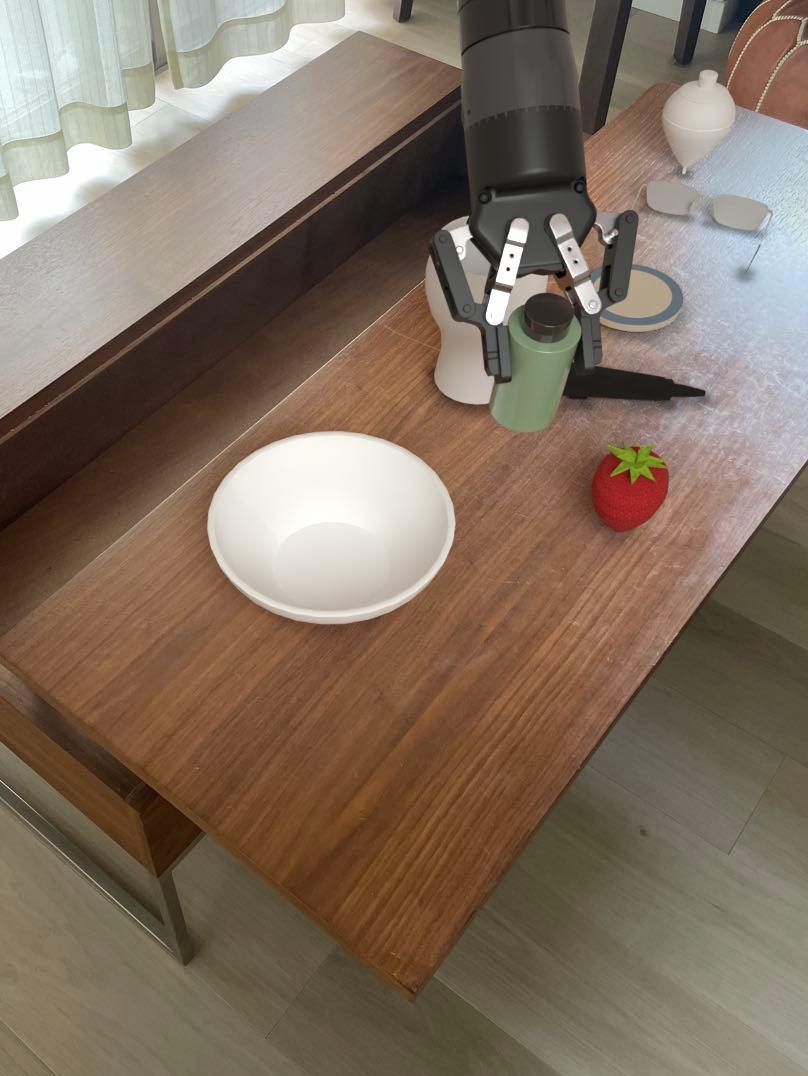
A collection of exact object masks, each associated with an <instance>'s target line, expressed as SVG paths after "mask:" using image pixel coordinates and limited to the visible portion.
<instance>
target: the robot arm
mask: <svg viewBox="0 0 808 1076" xmlns="http://www.w3.org/2000/svg"><path fill="white" fill-rule="evenodd" d="M568 4H569V3H568V0H456V17H457V27H458V37H459V47H460V56H461V57H460V58H461V61H460V62H461V75H460V76H461V77H460V100H461V112H460V120H461V126H462V128H463V134H464V135H463V136H464V146H465V157H466V163H467V164H466V167H467V177H468V188H469V189H468V190H469V197H470V198H469V200H470V212H469V215H468V216H469V218H468V220H467V222H466V225H464V226H461V227H458V228H456V229H453V230H450V231H447V230H441V229H440V230H438V231H436V232H435V234H434V235H433V236H431V238H430V239H429V240H428V243H427V250H428V252H429V256H431V259H432V262H433V264H434V267H435V270H436V273H437V276H438V279H439V282H440V285H441V288H442V291H443V293H444V296H445V299H446V302H447V305H448V308H449V311H450V314H451V317H452V318H453V320H454V321H456V322H465V323H469V324H472V325H475V326H476V327H478V329H479V330H480V332H481V340H482V351H483V360H484V361H483V362H484V370H485V372H486V374H487V376H494V381H495V384H505V383H510V382H511V381H512V371H511V360H510V349H509V338H508V327H507V325H505V326H503V319H504V315H505V311H506V307H507V303H508V299H509V296H510V293H511V291H512V289H513V286H514V282H515V279H518V278H522V277H525V276H527V275H530V274H535V275H541V276H546V275H548V276H552V277H553V279H554V281H555V283H556V286H557V287H558V288H559V290H560V291H561V292H563V294H564V296H565V297H564V298H566V299H567V300H568V301H569V302H570V303H571V304H572V306H573V308H574V315H575V317H576V318H577V319H578V321H579V323H580V326H581V337H580V340H579V343H578V346H577V350H576V353H575V356H574V359H573V362H574V367H575V373H576V375H577V376H580V375H588V374H593V373H594V372H595V366H597V365H599V364H601V362H602V359H603V356H604V354H603V353H604V352H603V342H602V331H601V330H602V329H601V323H600V315H601V313H602V311H603V310H604V309H606V308H607V307H609V306H611V305H613V304H616V303H618V302H621V301H623V300H624V299H625V298H626V297H627V294H628V288H629V281H630V275H631V268H632V264H633V262H634V261H633V260H634V255H635V248H636V247H635V246H636V240H637V234H638V227H639V221H640V217H639V214H638V212H636V211H635V210H633V209H632V210H631V209H627V210H625V211H623V212H614V211H606V210H600V209H599V210H598V209H597V206H596V205H595V203H594V202H593V200H592V199H591V197H590V195H589V191H588V182H587V181H588V180H587V179H588V178H587V167H586V154H585V142H584V133H583V120H582V108H581V107H582V106H581V95H580V83H579V76H578V75H579V74H578V69H577V63H576V59H575V56H574V50H573V46H572V38H571V29H570V16H569V5H568ZM592 228H593V229H594V230H595V231H596V232H597V240H598V243H600V245H601V246H603V247H604V253H603V258H602V259H603V260H602V267H601V268H602V272H601V279H600V285H599V291H598V292H597V291H596V289H595V287H594V285H593V283H592V281H591V278H590V275H591V271H590V268H589V265H588V263H587V261H586V259H585V256H584V254H583V253H582V249H581V247H582V246H583V244H584V242H585V240H586V239H587V237H588V235H589V234H590V232H591V230H592ZM468 240H470V241H471V242H472V243H473V244H474V246H475V247H476V248H477V249H478V250H479V251H480V252H481V254H482V255H483V256H484V257H485V258H486V259H487V261H488V262H489V263H490V264H491V265H490V269H489V273H488V277H487V280H486V284H485V289H484V297H483V301H482V304H479V303H475V302H474V299H473V296H472V293H471V291H470V288H469V285H468V282H467V279H466V276H465V273H464V270H463V267H462V264H461V260H462V259H463V258H464V257H465V256H466V243H467V241H468Z"/></svg>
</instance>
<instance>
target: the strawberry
mask: <svg viewBox="0 0 808 1076" xmlns="http://www.w3.org/2000/svg"><path fill="white" fill-rule="evenodd" d="M631 440H632V441H633V442H634V443H635V444H636V445H637V446H635V445H632V446H629V445H628V444H627V443H626V442H624V441H621V445H622V447H621V448H619V447H616V446H613V445H609V444H607V443H604V447H605V448H606V449H607V450H608V451H610V453H608V454H607V455H606V456H604V457H603V459H601V461H600V462H599V463H598V465H597V467H596V469H595V471H594V473H593V475H592V479H591V482H590V492H591V499H592V506H593V509H594V511H595V513H596V514H597V516H598V517H599V518H600V519H601V520H602V522H603V523H605V525H606V526H607V527H609V528H610V529H612V530H613V531H615V532H616V533H624V532H628V531H632V530H634V529H636V528H638V527H640V526H642V525H644V524H645V523H647V522H648V521H650V520H651V519H652V518H653V516H655V514H656V513H657V512H658V511H659V510H660V508H661V507H662V505H663V504H664V503H665V500H666V498H667V496H668V494H669V484H670V474H669V473H670V472H669V468H670V467H668V466H667V464H666V462H667V461H668V460H667V459H663V458H662V457H661V456H659V454H657V453H656V452H654V451H653V450H652V449H653V448H654V445H655V444H656V443H655V442H653V443H650V444H648V445H645V446H644V447H642V446H641V445H640V443H638V442H637V441H636V440H635V439H634V438H631Z"/></svg>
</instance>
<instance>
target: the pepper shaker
mask: <svg viewBox="0 0 808 1076" xmlns="http://www.w3.org/2000/svg"><path fill="white" fill-rule="evenodd" d="M507 327H508V338H509V349H510V360H511V371H512V381H511V382H510V383H505V384H495V381H494V383H493V387H492V391H491V395H490V399H489V403H488V409H489V412H490V414H491V417H493V419H494V420H495V421H496V422H497V423H498V424H499V425H501V427H503V428H505V429H507V430H510V431H513V432H516V433H523V434H531V433H537V432H540V431H543V430H544V429H546V428H548V427H549V426H550V425H551V424H552V423H553V422H554V420H555V419H556V416H557V413H558V409H559V407H560V403H561V399H562V397H563V396H562V394H563V391H564V387H565V384H566V381H567V378H568V375H569V372H570V369H571V365H572V362H574V356H575V353H576V350H577V346H578V343H579V340H580V337H581V326H580V323H579V321H578V319H577V318H576V317H575V315H574V308H573V306H572V304H571V303H570V302H569V301H568V300H567V299H566V297H564V296H563V295H561V294H560V295H559V294H557V293H554V292H553V293H552V292H545V293H539V294H535V295H533V296H531V297H530V298H529V299H528V300H527V301H526V303H525V304H524V305H521V306H520V307H518V308H517V309H515V310H514V311H513V312H512V314H511V315H510V317H509V320H508V324H507Z"/></svg>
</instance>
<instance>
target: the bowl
mask: <svg viewBox="0 0 808 1076" xmlns="http://www.w3.org/2000/svg"><path fill="white" fill-rule="evenodd" d="M207 513H208V514H207V527H206V530H207V535H208V540H209V545H210V549H211V551H212V553H213V555H214V557H215V560H216V562H217V564H218V566H219V568H220V569H221V571H222V572H223V573H224V575H225V576H226V578H228V580H229V581H230V582H231V584H232V585H233V586H234V587H235V588H236V589H237V590H238V591H239V592H240V593H241V594H242V595H244V596H245V597H247V599H249V600H250V601H251V602H253V603H254V604H256V605H257V606H259V607H261V608H263V609H265V610H266V611H269V612H270V613H273V614H274V615H278V616H281V617H284V618H287V619H290V620H293V621H296V622H302V623H310V624H317V625H347V624H352V623H357V622H363V621H368V620H369V621H370V620H371V619H374V618H377V617H380V616H382V615H383V616H384V615H385V614H388V613H391V612H393V611H395V610H397V609H398V608H400V607H402V606H403V605H405V604H407V603H409V602H410V601H412V600H413V599H414V598H415V597H416V596H417V595H419V594H420V593H421V592H422V591H423V590H424V589H426V588H427V587H428V586H429V584H430V583H431V582H432V581H433V579H434V578H435V577H436V575H437V574H438V573H439V572H440V570H441V569H442V567H443V566H444V564H445V561H446V560H447V557H448V555H449V552H450V550H451V548H452V546H453V543H454V537H455V531H456V517H455V516H456V515H455V507H454V504H453V501H452V499H451V496H450V493H449V491H448V488H447V486H446V485H445V484H444V482H443V481H442V480H441V478H440V476H439V475H438V474H437V472H436V471H434V469H433V468H432V467H431V466H429V464H427V463H426V462H425V461H424V459H422V458H420V457H419V456H418V455H416V454H414V453H413V452H412V451H409V450H408V449H407V448H405V447H403V446H400V445H398V444H396V443H394V442H391V441H389V440H387V439H385V438H380V437H377V436H373V435H369V434H366V433H361V432H352V431H343V430H330V431H329V430H328V431H327V430H326V431H313V432H312V431H311V432H307V433H301V434H294V435H292V436H288V437H285V438H281V439H279V440H275V441H273V442H271V443H269V444H266V445H265V446H263V447H261V448H259V449H256V450H254V451H253V452H252V453H251V454H249V455H247V456H246V457H245V458H243V459H242V460H241V461H239V462H238V463H237V464H236V465H235V466H234V467H233V468H232V469H231V470H230V471H229V472H228V473H227V474H226V475H225V476H224V477H223V479H222V481H221V482H220V484H219V485H218V487H217V489H216V490H215V492H214V493H213V497H212V499H211V503H210V506H209V508H208V512H207Z"/></svg>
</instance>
